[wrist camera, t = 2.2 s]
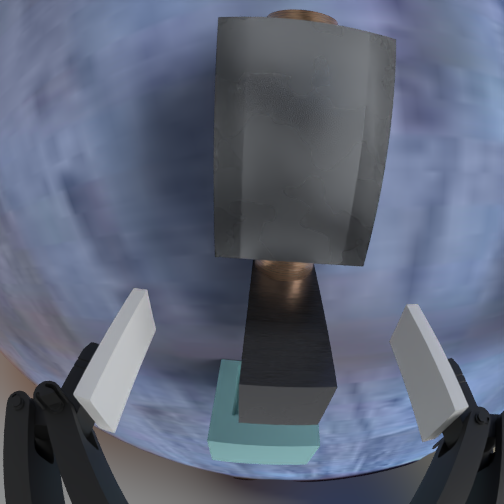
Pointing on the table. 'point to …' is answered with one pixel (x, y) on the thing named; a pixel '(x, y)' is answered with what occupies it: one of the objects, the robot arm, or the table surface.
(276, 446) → the socket
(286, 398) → the hammer
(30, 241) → the table surface
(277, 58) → the sleeve
